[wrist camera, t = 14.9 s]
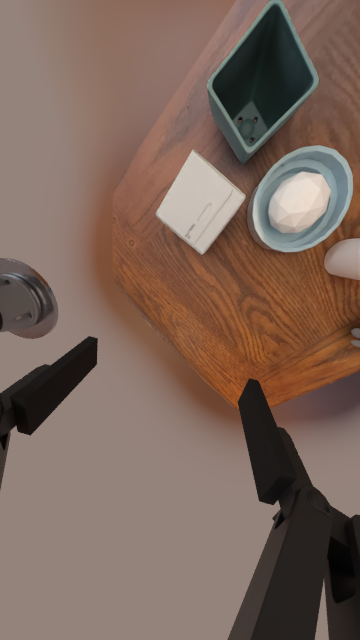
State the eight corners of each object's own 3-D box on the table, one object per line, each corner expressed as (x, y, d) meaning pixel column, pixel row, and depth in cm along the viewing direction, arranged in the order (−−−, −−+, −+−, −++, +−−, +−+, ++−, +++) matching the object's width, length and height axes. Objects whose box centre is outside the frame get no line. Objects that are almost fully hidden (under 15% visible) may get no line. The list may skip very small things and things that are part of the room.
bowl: (238, 185, 30) (243, 174, 26) (326, 145, 27) (350, 123, 22) (254, 261, 34) (262, 263, 30) (333, 235, 31) (354, 232, 26)
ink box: (198, 180, 31) (193, 144, 20) (235, 213, 32) (249, 196, 21) (170, 225, 34) (153, 214, 23) (204, 254, 35) (202, 256, 24)
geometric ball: (274, 202, 32) (289, 152, 25) (322, 213, 29) (355, 160, 22) (254, 236, 31) (264, 194, 24) (302, 250, 29) (330, 208, 21)
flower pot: (237, 180, 30) (248, 155, 22) (205, 131, 28) (204, 83, 20) (287, 132, 27) (322, 81, 19) (254, 74, 25) (278, -12, 17)
